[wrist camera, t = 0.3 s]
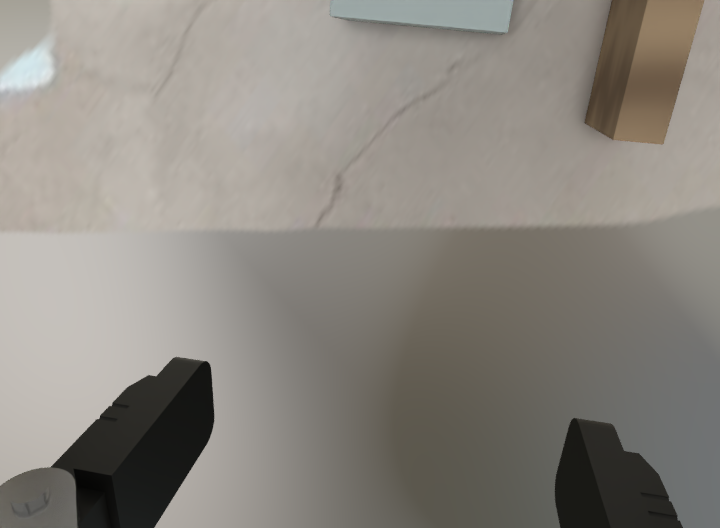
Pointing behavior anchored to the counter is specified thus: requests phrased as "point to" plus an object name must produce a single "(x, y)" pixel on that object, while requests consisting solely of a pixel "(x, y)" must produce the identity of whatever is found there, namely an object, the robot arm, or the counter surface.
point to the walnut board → (641, 68)
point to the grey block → (429, 13)
